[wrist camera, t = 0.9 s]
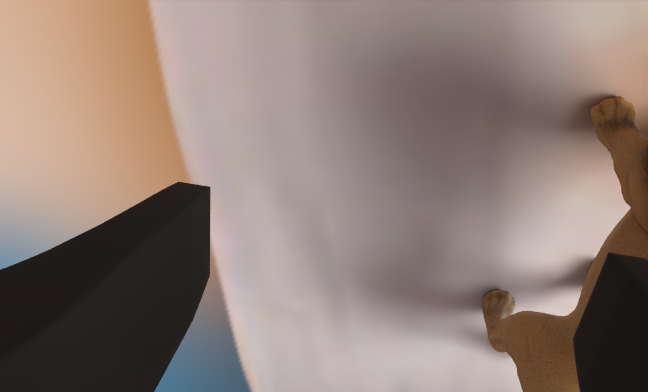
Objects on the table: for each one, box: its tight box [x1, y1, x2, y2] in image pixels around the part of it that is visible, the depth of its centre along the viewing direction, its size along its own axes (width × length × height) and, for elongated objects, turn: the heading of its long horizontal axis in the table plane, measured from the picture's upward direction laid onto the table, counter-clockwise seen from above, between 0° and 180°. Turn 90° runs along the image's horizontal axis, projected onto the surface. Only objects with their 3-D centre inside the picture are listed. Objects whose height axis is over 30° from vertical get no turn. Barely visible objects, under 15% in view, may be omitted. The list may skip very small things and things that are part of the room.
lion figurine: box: [482, 96, 648, 392], centre depth 17 cm, size 15×5×9 cm, turn 171°
